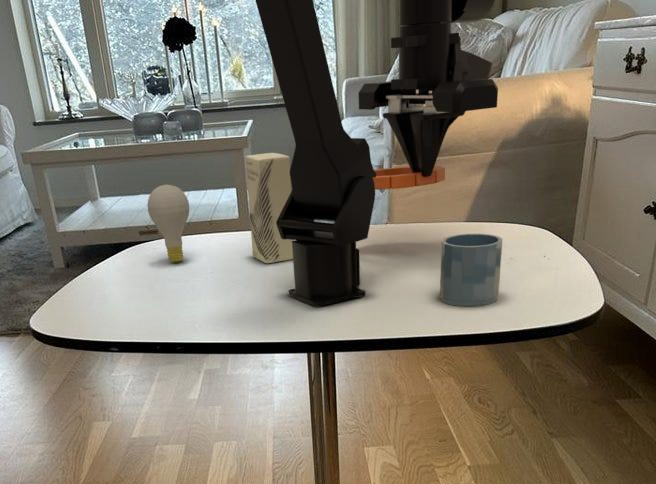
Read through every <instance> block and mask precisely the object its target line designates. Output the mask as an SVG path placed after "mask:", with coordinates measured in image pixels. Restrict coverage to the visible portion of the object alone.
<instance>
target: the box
mask: <svg viewBox="0 0 656 484" xmlns="http://www.w3.org/2000/svg"><path fill="white" fill-rule="evenodd" d="M244 158H245V169H246V170H245V171H246V182H247V195H248V209H249V210H248V211H249V221H250V223H249V224H250V234H251V235H250V236H251V247H252V248H251V249H252V256H253V257H254V258H255V259H256V260H258V261H261V262H262V263H264V264H272V263H279V262H285V261H286V262H287V261H291V260H293V250H292V241H295V240H291V239H287V240H284V239H281V236H280V234H279V231H278V228H277V225H276V221H277V219H278V217H279V215H280V213H281V211H282V209H283V207H284V205H285V203H286V201H287V199H288V197H289V195H290V193H291V191H292V184H291V178H290V167H291V157H290V156H289V155H285V154H284V153H283V154H282V153H277V152H267V153H257V154H249V155H245V157H244Z"/></svg>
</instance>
